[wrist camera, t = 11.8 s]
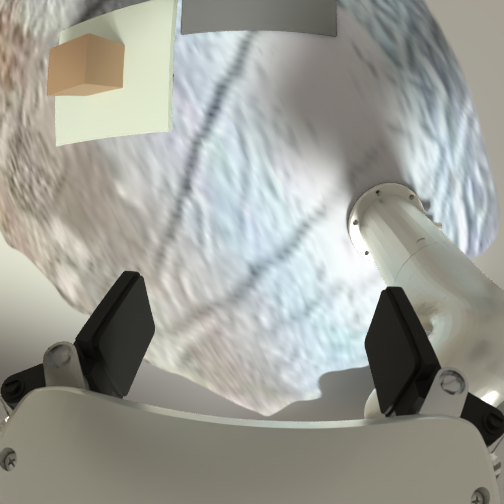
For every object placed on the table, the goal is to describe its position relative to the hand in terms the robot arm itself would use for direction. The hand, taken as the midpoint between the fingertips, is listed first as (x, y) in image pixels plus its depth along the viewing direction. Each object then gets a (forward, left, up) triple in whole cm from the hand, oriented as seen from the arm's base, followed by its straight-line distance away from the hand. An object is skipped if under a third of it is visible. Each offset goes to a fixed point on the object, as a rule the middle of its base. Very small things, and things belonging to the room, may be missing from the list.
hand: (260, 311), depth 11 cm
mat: (+2, -26, -30) cm, 40 cm away
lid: (+16, -12, -18) cm, 27 cm away
